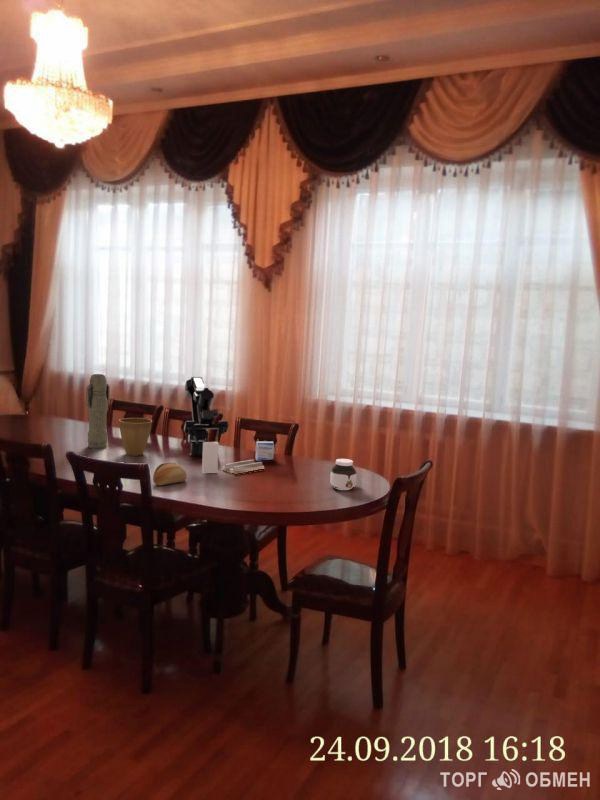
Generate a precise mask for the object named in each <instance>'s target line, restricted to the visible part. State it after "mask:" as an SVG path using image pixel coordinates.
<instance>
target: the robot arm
mask: <svg viewBox="0 0 600 800" xmlns="http://www.w3.org/2000/svg"><path fill="white" fill-rule="evenodd" d="M184 390H185V392H186V396H187V397H188V398H189V400H190V407H191V408H190V409H191V418H192V420H186V421H185V422H184V426H183V432H184V433H185V434H187V442H188V444H190V453H189V454H188V456H189V457H202V458H203V442H209V435H210V433H209V431H208V430H217V432H216V433H217V435H216V436H217V437H216V438H217V442H218V443H219V444H220V442H221V437H222V435H224V434H225V433H227V431H228V429H229V421H227V420H218V423H214V420H215V418H217V417H218V416H219V410H218V409H217V408H214V409H211V406H212V404H213V400H214V397H215V395H214V393H213V391H212V390H210V389H209V387H205V385H204V380H203V377H202V376H191V377H190V379H188V380H186V382H185V385H184Z"/></svg>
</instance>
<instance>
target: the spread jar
mask: <svg viewBox="0 0 600 800" xmlns="http://www.w3.org/2000/svg"><path fill="white" fill-rule="evenodd" d="M353 463H354V461H353V460H352V459H349V458H337V459H336V460H335V464H334V465H332V468H331V470H330V478H329V480H330V485H331V487H332V486H333V487H335V488H351V487H354V488H355V487H356V484H357V470H356V468H355V466H354V464H353ZM333 487H332V488H333Z"/></svg>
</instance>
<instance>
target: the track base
mask: <svg viewBox="0 0 600 800" xmlns="http://www.w3.org/2000/svg"><path fill="white" fill-rule="evenodd" d="M258 469H264V470H265V466H264V465H263V461H257V462H255V459H248V460H241V461H236V462H229V463H225V464H224V466H222V471H223V470H226V471H228V472H227V473H229V472H232V473H235V474H238V473H243V472H248V471H253V470H258ZM226 471H225V472H226ZM232 473H231V474H232ZM235 474H234V475H235ZM243 474H244V473H243ZM238 475H239V474H238Z"/></svg>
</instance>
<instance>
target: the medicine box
mask: <svg viewBox="0 0 600 800" xmlns="http://www.w3.org/2000/svg"><path fill="white" fill-rule="evenodd" d="M274 455H275V443H274V441H268V440H267V441H265V440H262V441H255V457H254V460H256V461H257V462H262V461H261V460H273V461H274Z"/></svg>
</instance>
